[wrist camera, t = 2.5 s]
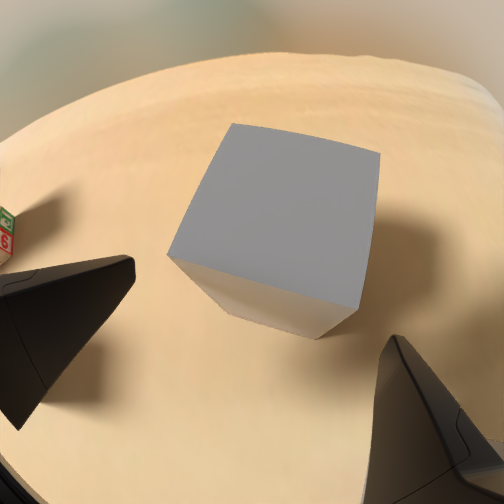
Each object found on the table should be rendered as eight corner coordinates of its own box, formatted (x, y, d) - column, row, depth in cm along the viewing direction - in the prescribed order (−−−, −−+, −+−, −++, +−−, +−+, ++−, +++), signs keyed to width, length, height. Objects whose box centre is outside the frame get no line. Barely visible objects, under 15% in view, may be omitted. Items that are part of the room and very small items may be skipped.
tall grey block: (315, 339, 18) (358, 309, 8) (228, 313, 19) (166, 254, 9) (337, 256, 20) (380, 153, 10) (255, 234, 21) (232, 123, 11)
